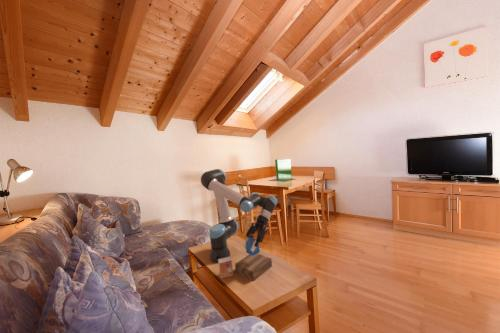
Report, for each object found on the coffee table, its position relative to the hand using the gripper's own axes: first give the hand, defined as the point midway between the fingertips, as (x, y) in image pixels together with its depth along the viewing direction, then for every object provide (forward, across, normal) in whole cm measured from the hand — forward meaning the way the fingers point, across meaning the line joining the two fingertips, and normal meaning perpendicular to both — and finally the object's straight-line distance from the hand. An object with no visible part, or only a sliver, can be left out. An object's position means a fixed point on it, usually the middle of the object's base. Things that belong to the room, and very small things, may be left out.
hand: (248, 249), depth 141 cm
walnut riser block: (+9, 0, -14) cm, 16 cm away
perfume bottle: (0, 0, -5) cm, 5 cm away
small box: (+20, +9, -2) cm, 22 cm away
